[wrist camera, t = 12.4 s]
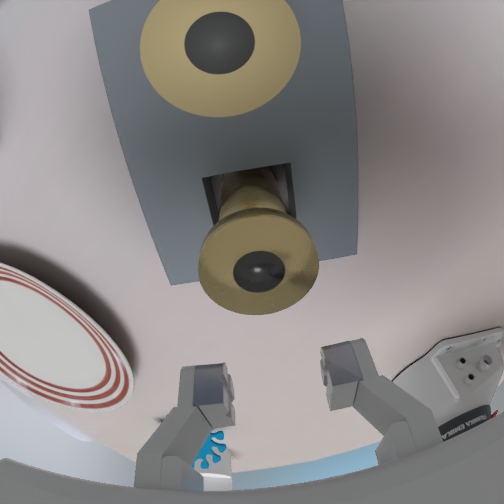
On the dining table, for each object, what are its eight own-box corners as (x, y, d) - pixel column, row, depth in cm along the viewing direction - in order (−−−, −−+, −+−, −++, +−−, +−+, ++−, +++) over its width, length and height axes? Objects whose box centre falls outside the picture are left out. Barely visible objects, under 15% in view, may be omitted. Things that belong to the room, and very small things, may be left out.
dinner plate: (-8, 363, 36) (-15, 378, 33) (-62, 224, 21) (-78, 240, 19) (139, 409, 42) (136, 427, 39) (142, 275, 27) (134, 301, 24)
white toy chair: (236, 447, 52) (239, 503, 42) (224, 459, 56) (226, 508, 47) (189, 443, 50) (188, 500, 40) (183, 455, 54) (182, 505, 45)
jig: (109, 15, 14) (26, -4, 6) (318, -23, 14) (383, -71, 6) (176, 258, 26) (158, 355, 18) (343, 230, 25) (390, 317, 17)
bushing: (281, 144, 21) (316, 209, 13) (290, 213, 24) (320, 305, 16) (202, 158, 21) (182, 232, 13) (219, 226, 24) (214, 322, 16)
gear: (230, 423, 41) (221, 476, 39) (230, 411, 47) (221, 461, 45) (157, 408, 41) (151, 462, 39) (164, 398, 47) (158, 448, 45)
